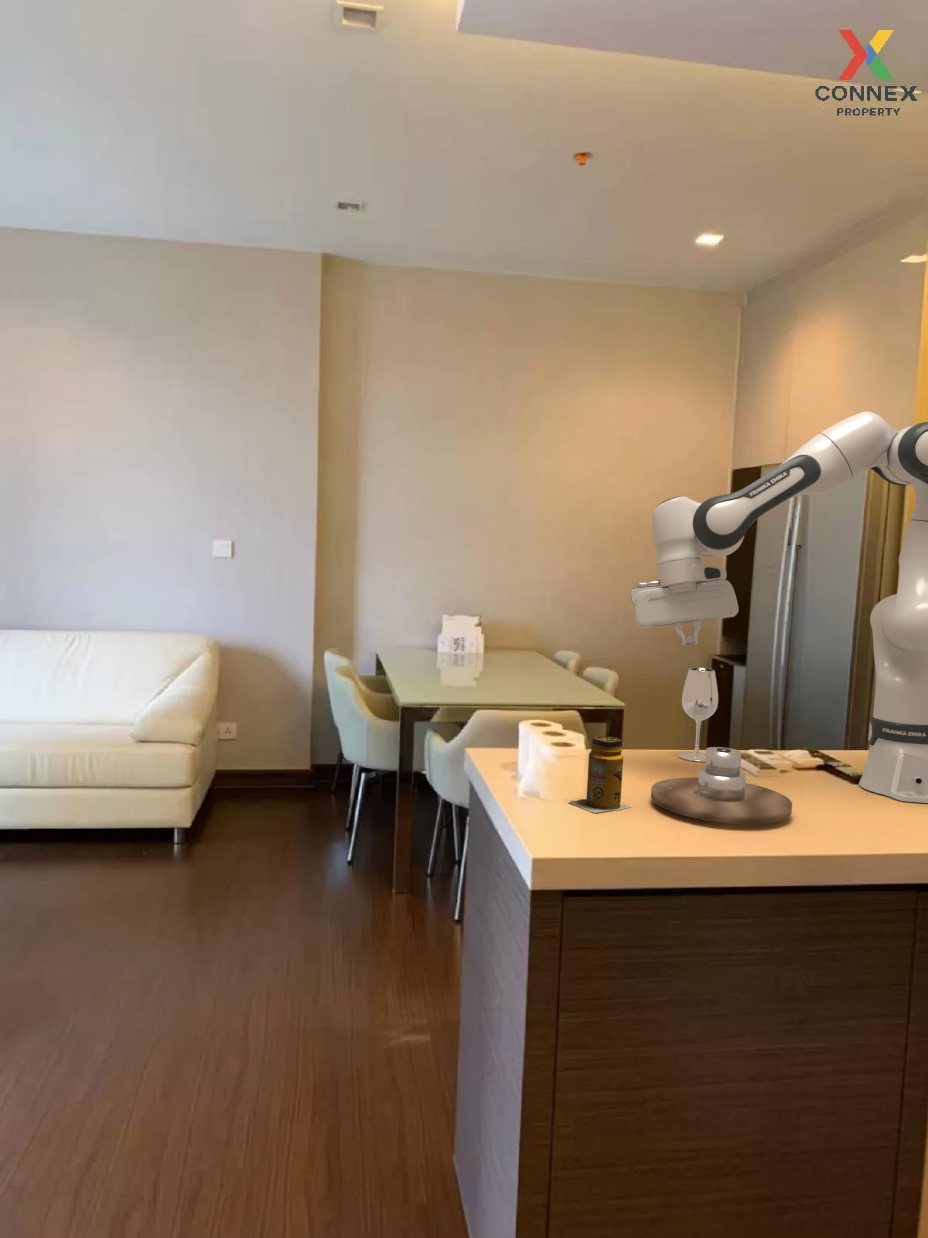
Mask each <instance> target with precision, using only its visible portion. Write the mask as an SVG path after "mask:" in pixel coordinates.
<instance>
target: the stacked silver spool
mask: <svg viewBox="0 0 928 1238" xmlns="http://www.w3.org/2000/svg"><path fill="white" fill-rule="evenodd" d="M705 755H706V760H705V762H704V768H700V769H699V770H698V778H699V779H698V794H699V795H700V796H702V797H704V798H707V799H712V800H717V801H727V802H735V801H741V800H743V799H744V797H745V783H747V782H746V780H747V779H746V777H747V776H746V773H743V772H741V766H742V765H741V764H742V751H740V750H738V749H734V748H730V747H724V746H723V747H722V746H721V747H720V746H716V747H715V746H713V747H712V746H711V747H707V748H706V749H705Z"/></svg>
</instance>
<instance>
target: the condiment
mask: <svg viewBox="0 0 928 1238" xmlns="http://www.w3.org/2000/svg"><path fill="white" fill-rule="evenodd" d="M622 746H623V741H622V740H621V739H620V738H618V737H614V736H606V735H600V736H594V737H592V740H591V746H590V747H591V750H590V752H589V754H588V765H587V767H588V768H587V781H586V783H587V784H586V798H585V799H583V798H581V799H576V800H577V801H575V800H569V801H570V802H569V803H570V804H572V805H574V806H576V807H578V808H581V809H582V810H584V811H585V810H586V811H588V812H591V813H594V814H597V813H604V812H610V811H618V810H624V809H629V808H631V806H629V805H626V804H624V803H621V800H622V783H623V781H622V780H623V766H624V756H623V754H622V752H623V750H622Z"/></svg>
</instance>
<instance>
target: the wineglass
mask: <svg viewBox="0 0 928 1238" xmlns="http://www.w3.org/2000/svg"><path fill="white" fill-rule="evenodd" d="M684 682H685V683H684V685H683V690H682V694H681V695H682V696H681V705H682V709H683V711H684V712H685V714H686V715H688V716H689V717H690V718H691V719H693V720H694V721H695V725H696V726H695V729H696V730H695V747H694V750H693V751H692V752H685V753H684V752H683V753H679V755H678V757H679V758H681V759H683V760H686V761H691V762H695V761H696V763H698V762H699V763H705V760H706V753H705V754H704V753H702V752H701V751H700V747H699V746H700V733H701V732H700V731H701V725H702V724H701V723H702V721H705V720H707V719H709V718H710V717H711V716H713V715H714V714H715V712H716V711H717V709H718V704H719V692H718V690H719V689H718V685H717V684H718V683H717V677H716V672H715V670H714V669H712V668H704V667H690V668H688V671H687V674H686V678H685V681H684Z"/></svg>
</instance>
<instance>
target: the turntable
mask: <svg viewBox="0 0 928 1238" xmlns="http://www.w3.org/2000/svg"><path fill="white" fill-rule="evenodd" d="M698 779H699V777H676V778H669V779H663V780H660V781H658V782H655V783H653V785H652V786H651V788H650V797H651V798H650V799H651V801H652V802H653V803H655V804H656V805H657V806H659V807H661V809H664V810H666V811H669V812H672V813H675V814H678V815H681V816H685V817H689V818H693V819H699V820H702V821H708V822H716V823H717V822H718V823H724V824H736V825H762V824H763V825H764V824H772V823H778V822H781V821H784V820H787V819H789V818H790V817H791V816H792V813H793V812H792V809H793V802H792V801H791V799H790V798H788V797H787V796H786V795H784V794H782V793H780V792H778V791H775V790H773V789H770V788H768V787H765V786H764V787H763V786H760V785H756V784H752V783H747V782H745V797H744V799H743V800H741V801H735V802H727V801H717V800H712V799H707V798H704V797H702V796H700V795H699V794H698Z"/></svg>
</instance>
